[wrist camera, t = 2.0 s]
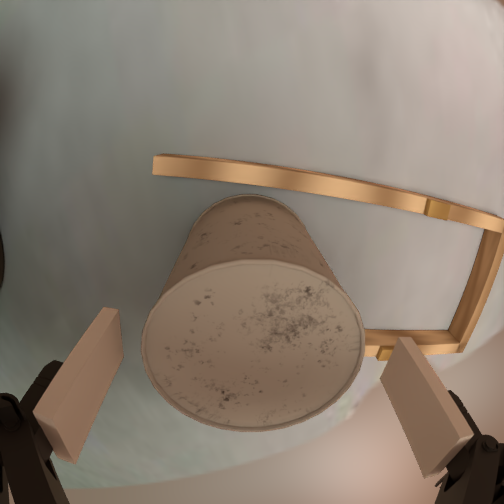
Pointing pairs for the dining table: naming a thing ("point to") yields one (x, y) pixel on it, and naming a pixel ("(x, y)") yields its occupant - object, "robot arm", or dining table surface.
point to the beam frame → (496, 228)
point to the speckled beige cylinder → (252, 322)
